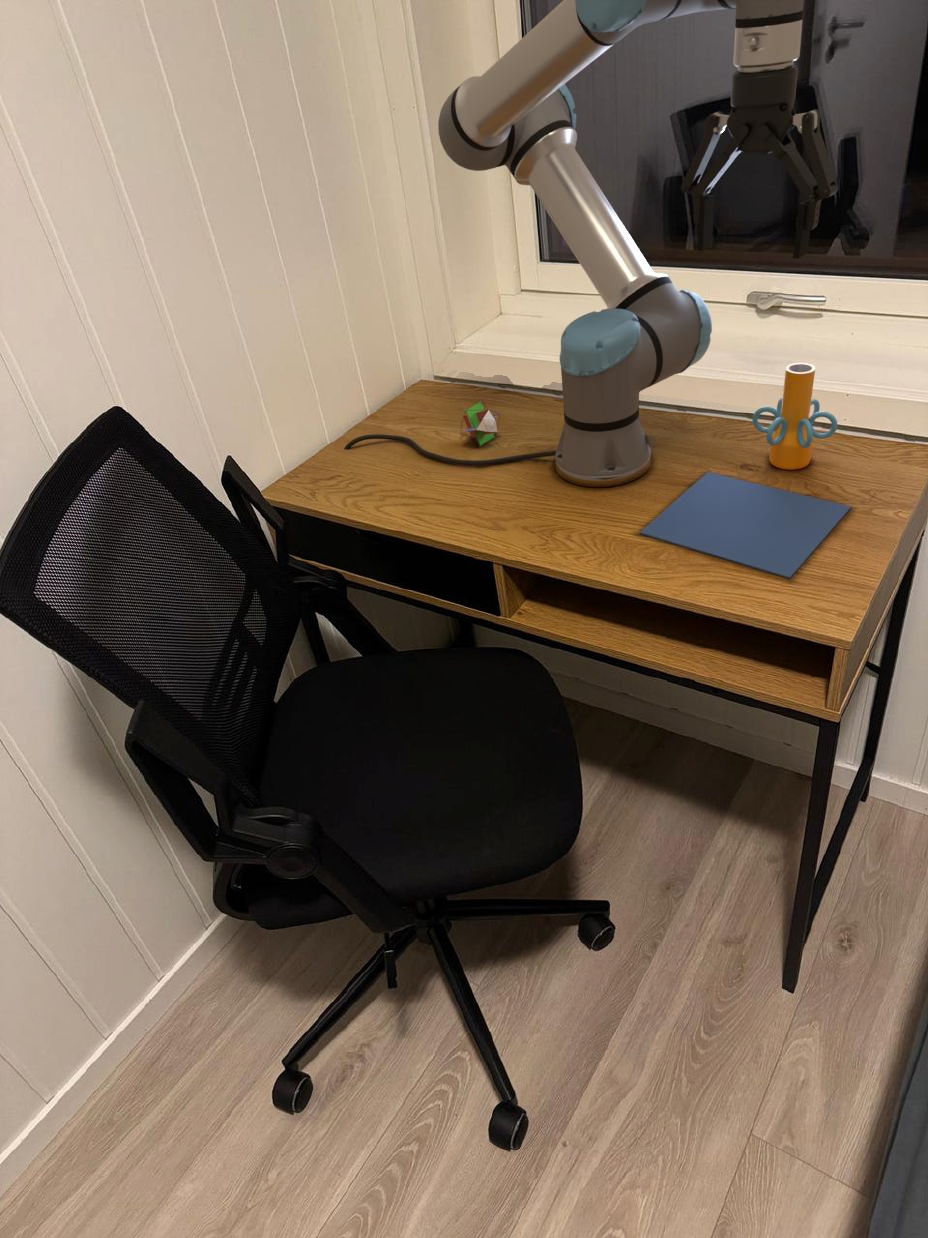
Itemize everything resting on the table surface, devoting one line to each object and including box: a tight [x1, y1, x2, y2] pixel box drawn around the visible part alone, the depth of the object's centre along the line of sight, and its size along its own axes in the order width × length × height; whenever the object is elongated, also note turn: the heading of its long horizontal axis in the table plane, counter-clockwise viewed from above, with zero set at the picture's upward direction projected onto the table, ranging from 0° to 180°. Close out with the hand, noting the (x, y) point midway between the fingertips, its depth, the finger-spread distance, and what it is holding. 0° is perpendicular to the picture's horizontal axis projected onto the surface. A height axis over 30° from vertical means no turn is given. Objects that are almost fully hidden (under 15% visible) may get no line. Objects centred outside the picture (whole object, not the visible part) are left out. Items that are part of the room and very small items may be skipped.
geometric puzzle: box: [459, 400, 501, 447], centre depth 150 cm, size 7×7×8 cm
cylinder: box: [751, 362, 838, 470], centre depth 128 cm, size 12×10×15 cm
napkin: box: [639, 471, 852, 580], centre depth 121 cm, size 22×20×1 cm
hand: (750, 251), depth 115 cm, fingers open, 13 cm apart
